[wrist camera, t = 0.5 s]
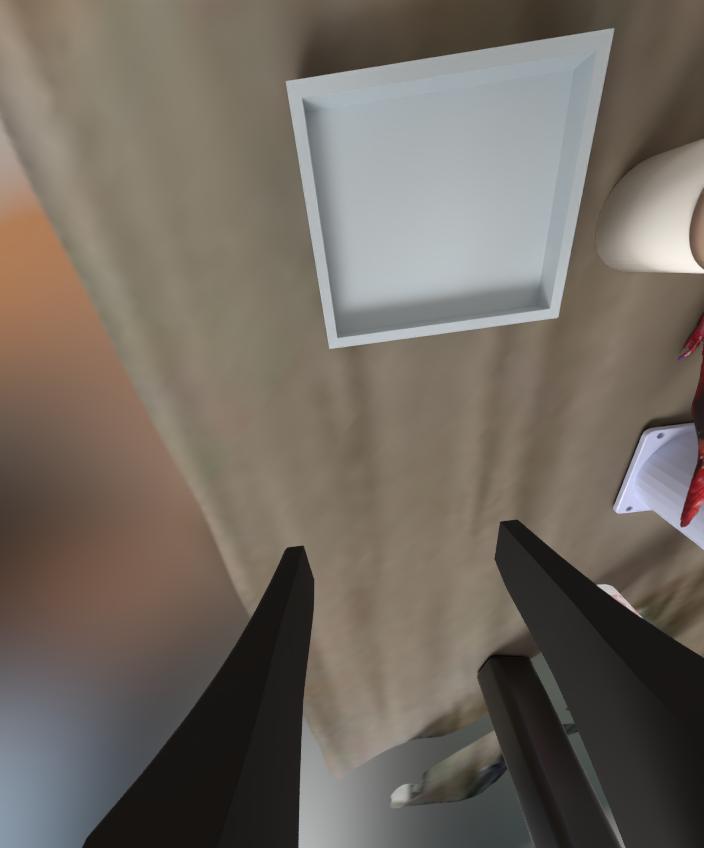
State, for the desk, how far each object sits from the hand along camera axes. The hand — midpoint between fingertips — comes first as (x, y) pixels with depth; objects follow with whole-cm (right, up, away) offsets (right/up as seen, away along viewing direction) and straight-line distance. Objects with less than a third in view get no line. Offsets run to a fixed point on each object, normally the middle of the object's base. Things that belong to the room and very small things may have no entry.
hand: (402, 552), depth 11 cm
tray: (+2, +15, +4) cm, 16 cm away
